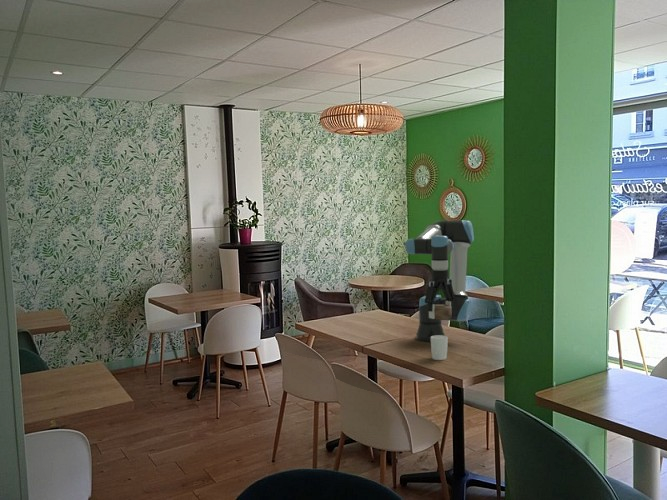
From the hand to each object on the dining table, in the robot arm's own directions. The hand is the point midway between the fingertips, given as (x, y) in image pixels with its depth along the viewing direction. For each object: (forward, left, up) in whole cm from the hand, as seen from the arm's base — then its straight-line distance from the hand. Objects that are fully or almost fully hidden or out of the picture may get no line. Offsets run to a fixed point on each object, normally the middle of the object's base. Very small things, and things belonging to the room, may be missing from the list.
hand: (440, 316), depth 257 cm
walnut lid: (0, 0, 0) cm, 0 cm away
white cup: (0, 0, -20) cm, 20 cm away
